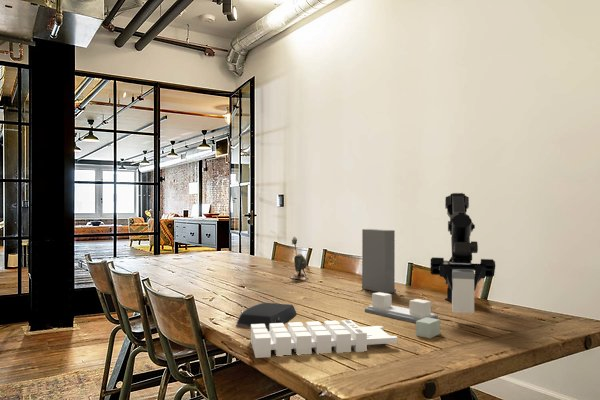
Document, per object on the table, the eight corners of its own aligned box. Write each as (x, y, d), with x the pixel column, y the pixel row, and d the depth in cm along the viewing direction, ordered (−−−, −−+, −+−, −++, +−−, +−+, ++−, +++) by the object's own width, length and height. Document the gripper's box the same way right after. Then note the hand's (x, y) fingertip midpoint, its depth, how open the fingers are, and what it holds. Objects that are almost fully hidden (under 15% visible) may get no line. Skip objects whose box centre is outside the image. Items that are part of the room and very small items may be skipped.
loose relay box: (426, 331, 132) (426, 317, 132) (440, 334, 130) (440, 319, 130) (415, 336, 128) (415, 321, 128) (429, 338, 125) (429, 323, 125)
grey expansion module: (452, 308, 145) (452, 269, 145) (472, 309, 143) (472, 270, 143) (452, 312, 140) (452, 271, 140) (474, 313, 138) (474, 272, 138)
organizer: (250, 324, 122) (380, 318, 128) (250, 343, 121) (380, 336, 128) (255, 338, 109) (399, 331, 115) (255, 359, 109) (399, 351, 115)
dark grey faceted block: (233, 326, 138) (233, 312, 138) (262, 312, 156) (262, 300, 156) (274, 331, 133) (274, 316, 133) (299, 316, 151) (299, 303, 151)
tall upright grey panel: (396, 292, 191) (396, 230, 191) (385, 294, 187) (385, 230, 187) (372, 287, 202) (372, 228, 202) (361, 289, 199) (361, 229, 199)
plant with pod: (294, 281, 218) (294, 237, 218) (288, 277, 229) (288, 236, 229) (311, 280, 220) (311, 237, 221) (304, 276, 231) (304, 235, 232)
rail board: (384, 307, 163) (384, 291, 163) (437, 318, 147) (437, 300, 147) (364, 311, 156) (364, 294, 156) (418, 323, 140) (418, 304, 140)
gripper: (430, 231, 148) (430, 271, 137) (494, 232, 143) (499, 274, 132) (430, 254, 156) (430, 294, 145) (491, 256, 151) (496, 297, 140)
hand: (463, 289), depth 140 cm, fingers closed on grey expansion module, 6 cm apart
